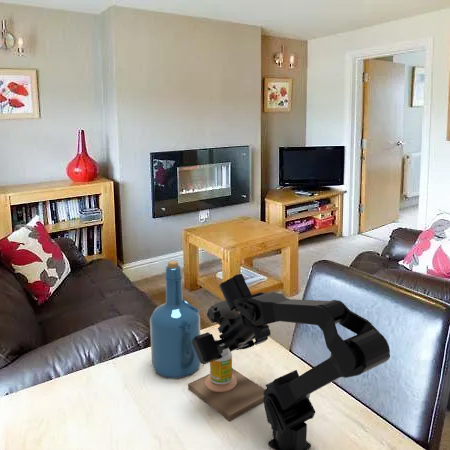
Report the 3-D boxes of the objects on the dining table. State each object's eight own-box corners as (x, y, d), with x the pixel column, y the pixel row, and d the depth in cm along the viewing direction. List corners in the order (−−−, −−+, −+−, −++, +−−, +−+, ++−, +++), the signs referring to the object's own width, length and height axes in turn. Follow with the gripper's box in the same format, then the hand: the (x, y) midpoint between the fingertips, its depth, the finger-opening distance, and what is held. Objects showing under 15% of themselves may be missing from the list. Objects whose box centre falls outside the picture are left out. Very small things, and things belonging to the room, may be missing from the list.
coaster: (243, 383, 115) (243, 382, 115) (218, 396, 110) (218, 394, 110) (223, 370, 121) (223, 368, 120) (198, 381, 116) (198, 380, 116)
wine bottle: (169, 386, 116) (164, 274, 109) (143, 364, 126) (137, 260, 119) (212, 367, 125) (210, 262, 117) (184, 348, 135) (181, 250, 127)
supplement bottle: (222, 387, 111) (221, 351, 109) (205, 379, 114) (205, 344, 112) (236, 378, 115) (236, 342, 113) (220, 370, 118) (219, 336, 116)
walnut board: (270, 398, 111) (270, 392, 111) (229, 421, 103) (229, 415, 103) (228, 370, 123) (228, 365, 123) (188, 389, 115) (188, 383, 115)
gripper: (260, 286, 111) (234, 313, 123) (194, 305, 101) (172, 332, 112) (282, 328, 107) (252, 351, 118) (215, 352, 96) (190, 375, 108)
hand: (217, 351), depth 114 cm, fingers closed on supplement bottle, 5 cm apart
